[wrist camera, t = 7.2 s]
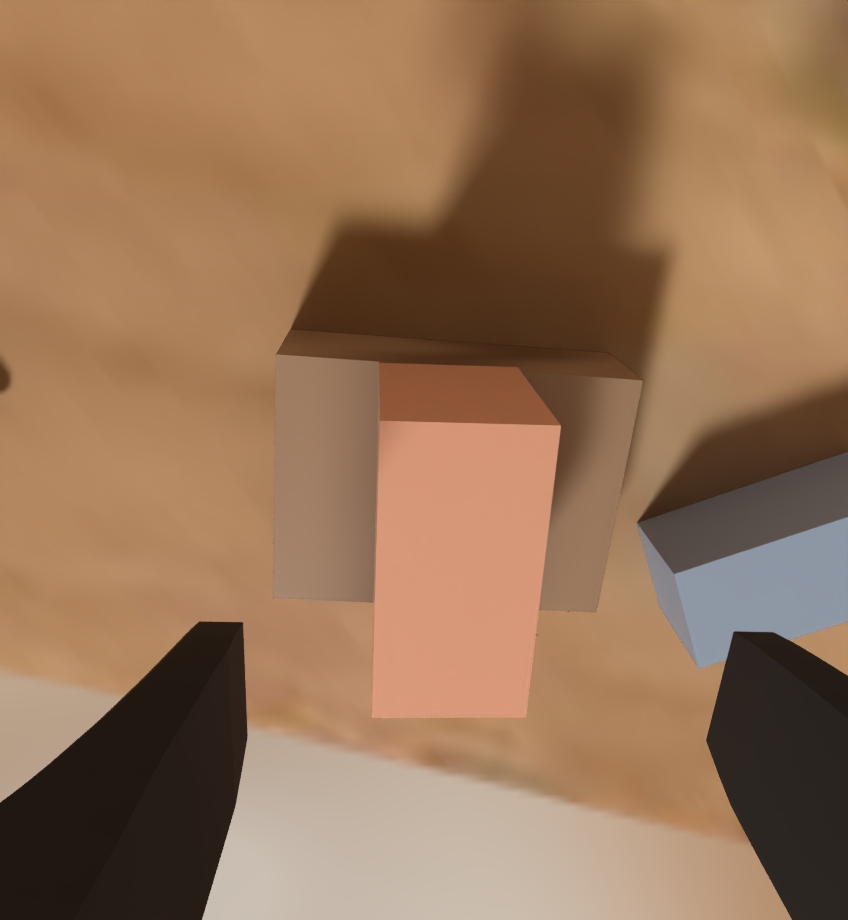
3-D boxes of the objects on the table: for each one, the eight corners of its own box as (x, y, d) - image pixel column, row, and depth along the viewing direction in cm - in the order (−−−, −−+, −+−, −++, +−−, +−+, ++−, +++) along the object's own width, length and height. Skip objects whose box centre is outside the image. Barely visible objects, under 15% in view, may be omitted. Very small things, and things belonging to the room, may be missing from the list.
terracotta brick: (518, 367, 16) (560, 425, 12) (495, 605, 18) (525, 717, 14) (379, 362, 16) (379, 420, 12) (373, 604, 18) (371, 718, 14)
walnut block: (604, 349, 19) (643, 380, 16) (567, 553, 21) (596, 612, 18) (292, 326, 18) (275, 354, 15) (287, 539, 20) (273, 598, 18)
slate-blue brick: (844, 448, 20) (919, 493, 17) (858, 539, 21) (929, 595, 18) (634, 519, 21) (673, 574, 18) (657, 604, 22) (698, 668, 19)
